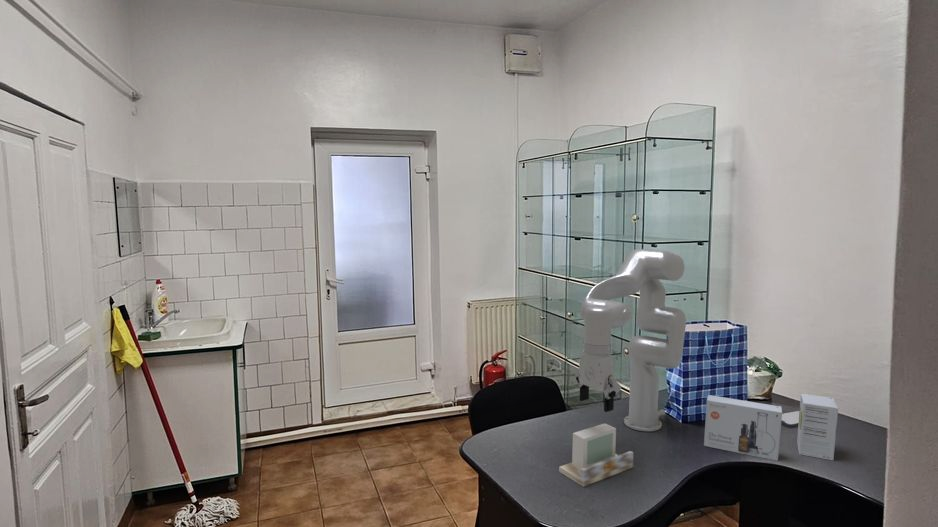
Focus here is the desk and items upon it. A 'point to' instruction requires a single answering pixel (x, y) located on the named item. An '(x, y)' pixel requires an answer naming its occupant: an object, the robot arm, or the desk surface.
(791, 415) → the phone case
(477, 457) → the desk surface
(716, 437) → the skincare box
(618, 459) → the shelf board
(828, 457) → the supplement box
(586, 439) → the carton
